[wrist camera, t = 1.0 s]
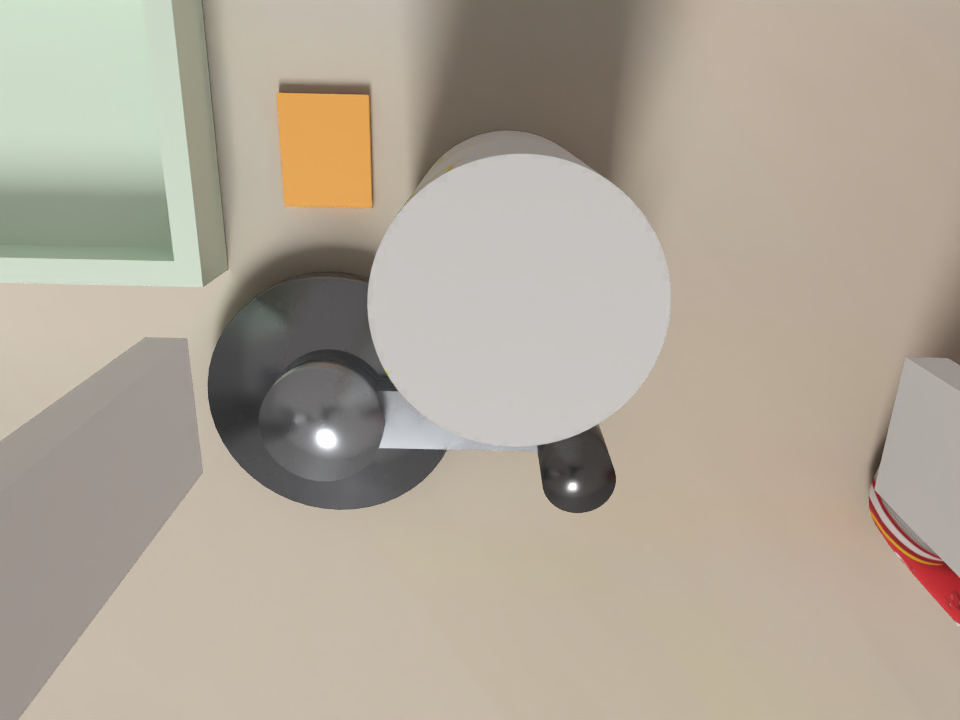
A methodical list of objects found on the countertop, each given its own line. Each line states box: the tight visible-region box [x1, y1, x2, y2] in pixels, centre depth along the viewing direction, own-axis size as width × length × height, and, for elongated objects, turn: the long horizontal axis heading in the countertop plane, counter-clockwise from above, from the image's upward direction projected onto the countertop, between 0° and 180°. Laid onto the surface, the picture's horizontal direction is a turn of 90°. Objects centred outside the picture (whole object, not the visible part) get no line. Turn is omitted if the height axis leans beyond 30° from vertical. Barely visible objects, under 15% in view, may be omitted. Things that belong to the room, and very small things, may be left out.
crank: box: [259, 349, 616, 513], centre depth 29 cm, size 14×5×6 cm, turn 89°
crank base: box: [208, 272, 447, 510], centre depth 33 cm, size 11×11×1 cm
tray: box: [0, 0, 228, 287], centre depth 28 cm, size 13×13×3 cm
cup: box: [367, 130, 671, 447], centre depth 25 cm, size 8×8×12 cm
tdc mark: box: [277, 93, 373, 208], centre depth 30 cm, size 4×4×1 cm
